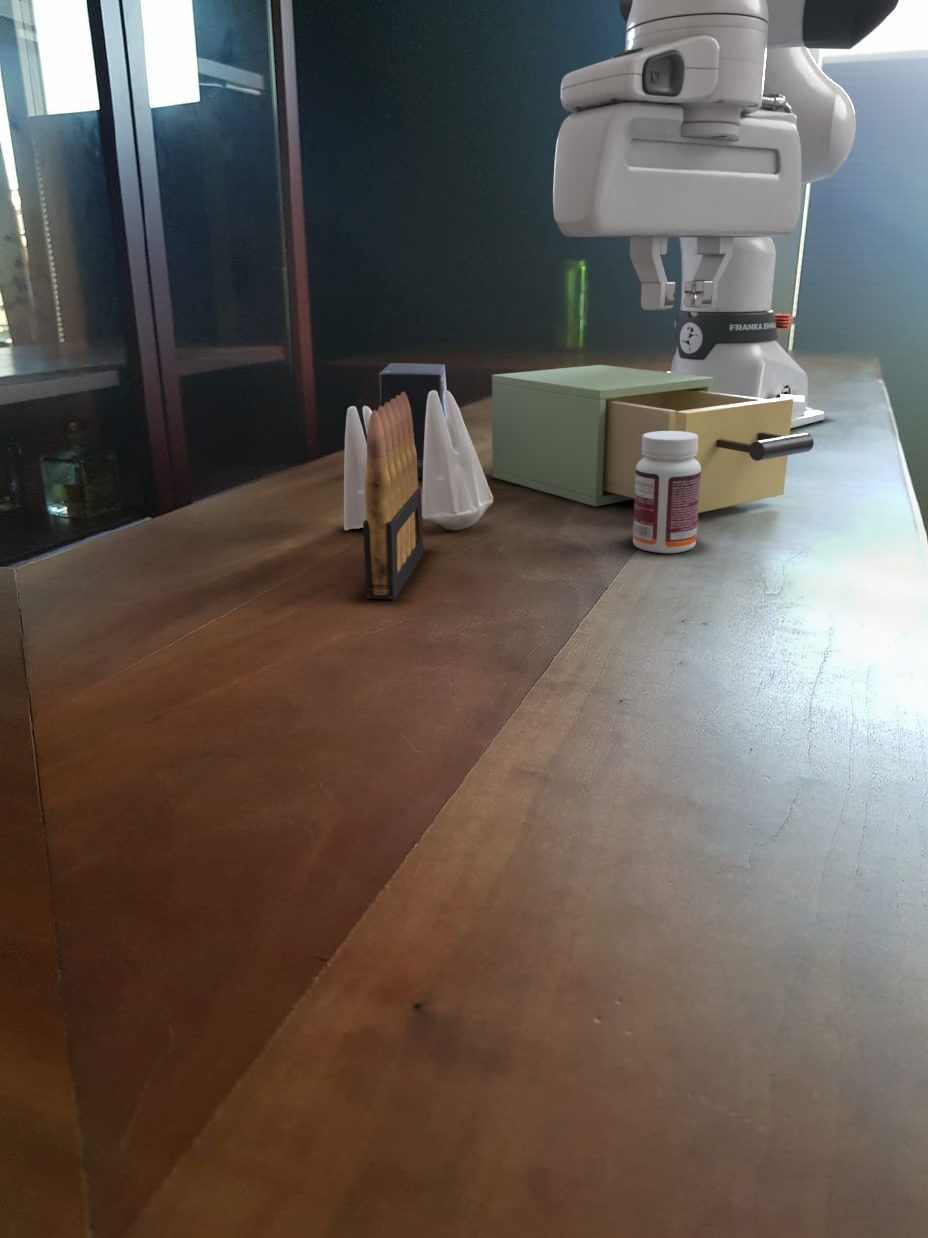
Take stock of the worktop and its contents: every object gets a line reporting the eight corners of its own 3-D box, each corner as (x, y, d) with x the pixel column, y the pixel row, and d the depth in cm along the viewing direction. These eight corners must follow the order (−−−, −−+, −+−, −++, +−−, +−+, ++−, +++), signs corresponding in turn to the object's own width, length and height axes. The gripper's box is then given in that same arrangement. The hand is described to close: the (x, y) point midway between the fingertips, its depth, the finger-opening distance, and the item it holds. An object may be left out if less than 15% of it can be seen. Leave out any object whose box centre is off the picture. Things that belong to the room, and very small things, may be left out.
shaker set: (494, 522, 79) (494, 386, 75) (487, 535, 75) (486, 393, 71) (355, 518, 81) (348, 385, 77) (341, 531, 77) (333, 392, 73)
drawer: (832, 505, 79) (845, 404, 76) (727, 530, 72) (736, 420, 69) (663, 468, 94) (668, 382, 91) (563, 485, 87) (565, 394, 85)
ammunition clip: (399, 552, 71) (393, 389, 67) (423, 552, 71) (418, 389, 67) (365, 599, 61) (355, 412, 57) (393, 600, 61) (385, 412, 57)
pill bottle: (697, 538, 74) (705, 430, 71) (694, 556, 69) (702, 441, 66) (635, 535, 75) (640, 428, 72) (628, 552, 70) (634, 439, 68)
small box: (445, 479, 95) (443, 371, 91) (380, 480, 95) (375, 372, 91) (449, 458, 105) (447, 361, 101) (390, 459, 105) (386, 362, 101)
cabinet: (706, 485, 91) (714, 377, 87) (595, 506, 84) (599, 390, 80) (597, 460, 103) (600, 364, 99) (492, 477, 96) (491, 374, 92)
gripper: (760, 102, 69) (743, 302, 74) (539, 77, 58) (536, 312, 63) (835, 89, 64) (811, 304, 69) (609, 58, 53) (600, 315, 58)
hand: (678, 308), depth 66 cm, fingers open, 3 cm apart
